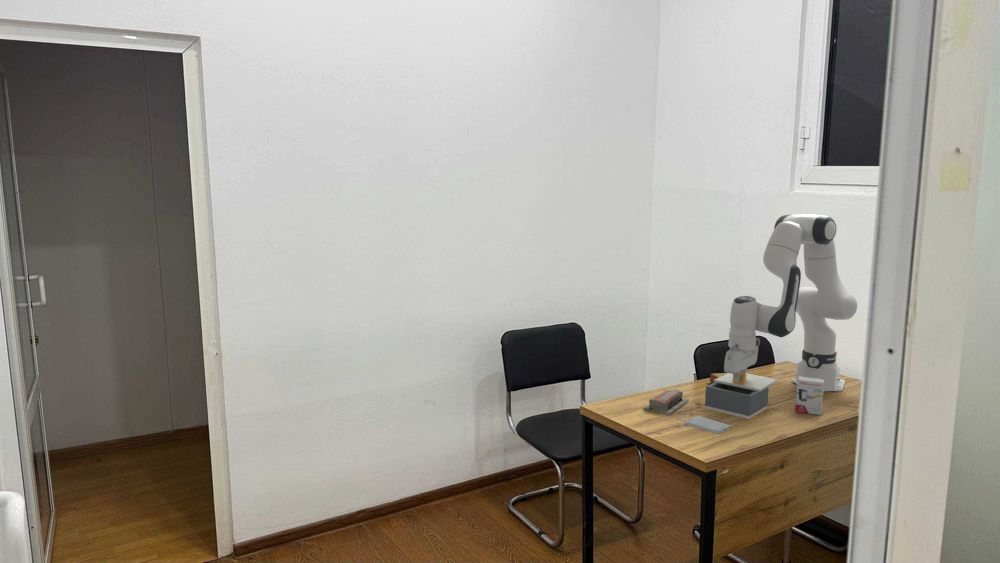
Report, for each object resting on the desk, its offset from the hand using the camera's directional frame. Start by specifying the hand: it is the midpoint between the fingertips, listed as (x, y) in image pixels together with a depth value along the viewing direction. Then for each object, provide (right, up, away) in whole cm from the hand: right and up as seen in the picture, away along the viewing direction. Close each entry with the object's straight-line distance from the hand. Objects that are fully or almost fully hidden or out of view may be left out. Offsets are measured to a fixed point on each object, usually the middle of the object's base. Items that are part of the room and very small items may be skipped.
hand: (739, 380), depth 240 cm
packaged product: (-25, -10, +2) cm, 27 cm away
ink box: (+23, -11, -3) cm, 26 cm away
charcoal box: (-1, -10, 0) cm, 10 cm away
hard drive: (-17, -13, -18) cm, 27 cm away
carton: (+5, -7, +25) cm, 26 cm away
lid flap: (+4, -1, +5) cm, 6 cm away
